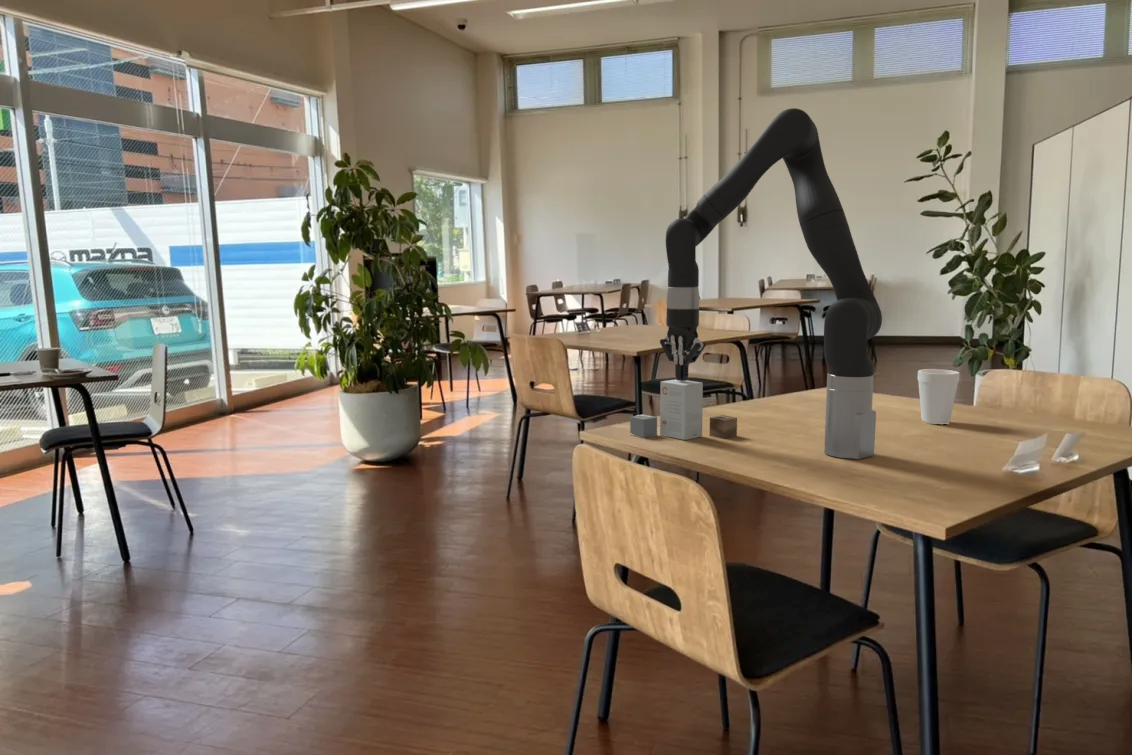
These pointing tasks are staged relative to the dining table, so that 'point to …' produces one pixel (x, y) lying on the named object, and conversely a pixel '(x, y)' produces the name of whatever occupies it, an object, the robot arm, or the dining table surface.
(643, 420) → the slate block seven
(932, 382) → the foam cup
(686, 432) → the small box
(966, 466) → the dining table surface
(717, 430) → the walnut block one
